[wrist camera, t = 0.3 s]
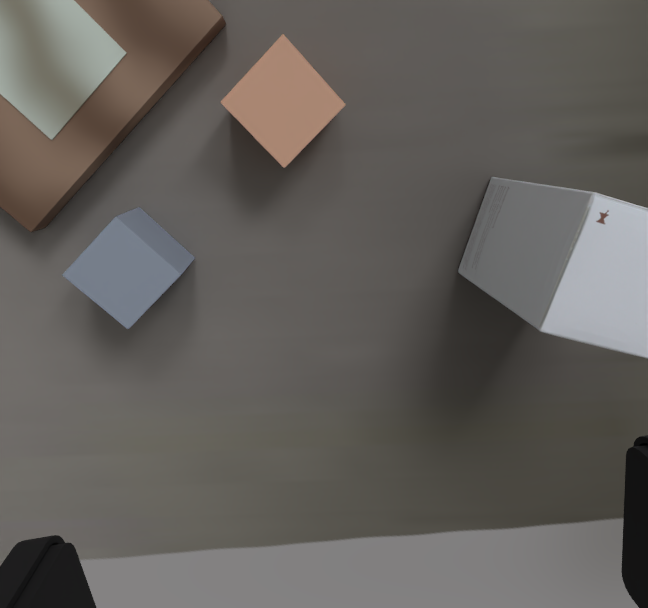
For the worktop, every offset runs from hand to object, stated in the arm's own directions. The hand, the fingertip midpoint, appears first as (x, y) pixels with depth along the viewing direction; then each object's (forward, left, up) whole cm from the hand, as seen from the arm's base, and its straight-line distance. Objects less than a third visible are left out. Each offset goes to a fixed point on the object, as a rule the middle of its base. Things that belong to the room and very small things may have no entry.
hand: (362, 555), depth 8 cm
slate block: (+9, -7, -29) cm, 31 cm away
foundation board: (+3, -19, -29) cm, 35 cm away
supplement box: (-11, +11, -29) cm, 33 cm away
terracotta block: (-5, -7, -29) cm, 30 cm away
